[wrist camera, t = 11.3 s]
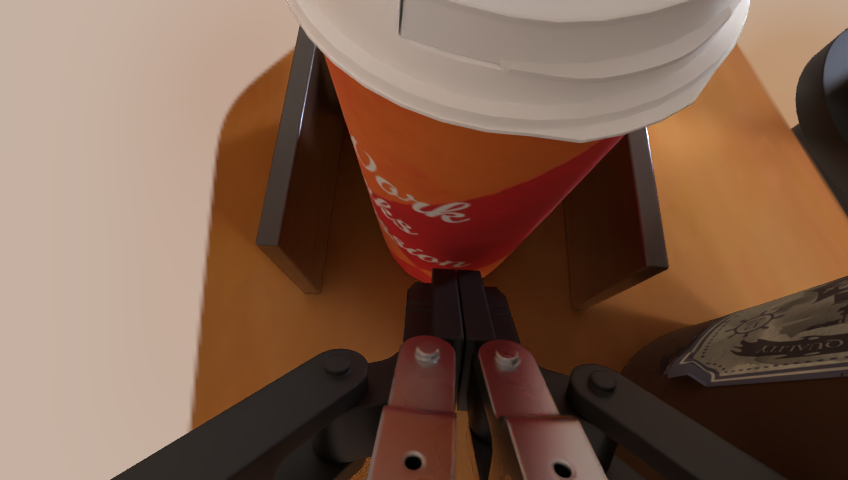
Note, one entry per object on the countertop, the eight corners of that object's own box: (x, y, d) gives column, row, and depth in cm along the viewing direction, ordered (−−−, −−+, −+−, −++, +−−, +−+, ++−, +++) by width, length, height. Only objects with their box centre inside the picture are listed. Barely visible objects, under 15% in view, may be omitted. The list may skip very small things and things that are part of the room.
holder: (571, 117, 21) (629, 15, 16) (587, 309, 18) (670, 269, 12) (332, 102, 21) (305, -7, 15) (303, 293, 18) (254, 244, 12)
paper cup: (341, 176, 20) (205, -277, 6) (496, 136, 21) (649, -323, 7) (388, 340, 17) (320, 150, 4) (561, 286, 18) (969, -11, 5)
